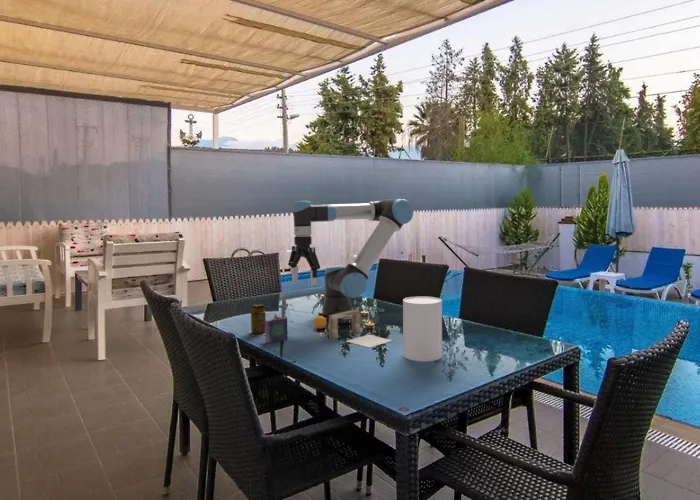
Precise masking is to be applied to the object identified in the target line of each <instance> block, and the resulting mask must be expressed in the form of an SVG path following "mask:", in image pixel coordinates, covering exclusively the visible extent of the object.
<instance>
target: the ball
mask: <svg viewBox="0 0 700 500" xmlns="http://www.w3.org/2000/svg"><path fill="white" fill-rule="evenodd" d="M313 319H314V320H313V325H314V326H315V328H317V329H319V330H321V329H324V328H325V327H326V325H327V319H326V317H324V316H323V315H317V316H316V317H315V318H313Z"/></svg>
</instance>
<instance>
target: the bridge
mask: <svg viewBox="0 0 700 500" xmlns="http://www.w3.org/2000/svg"><path fill="white" fill-rule="evenodd" d="M346 317H351V333H355V334H358V333H361V310H358V309H353V310H351V311H346V312H342V313H337V314H333V315H329V316H328V331H329V332H328V336H329V337H328V339H329V338H330V339H332V340H336V339H338V338H339V330H338V327H339V326H338V321H339V320H338V319H342V318H346Z"/></svg>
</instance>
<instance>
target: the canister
mask: <svg viewBox="0 0 700 500" xmlns="http://www.w3.org/2000/svg"><path fill="white" fill-rule="evenodd" d="M442 300H443V299H441V298H439V297H434V296H425V295H424V296H421V295H420V296H419V295H418V296H409V297H405V298H403V299H402V309H403V310H402V327H403V328H402V330H403V332H402V333H403V335H402V338H403V341H402V342H403V346H402V347H403V349H402V350H403V352H402V353H403V357H404V358H405V359H407V360H409V361H415V362H434V361H438V360H440V359H442V357H443V314H442V313H443V306H442V305H443V301H442Z"/></svg>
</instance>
